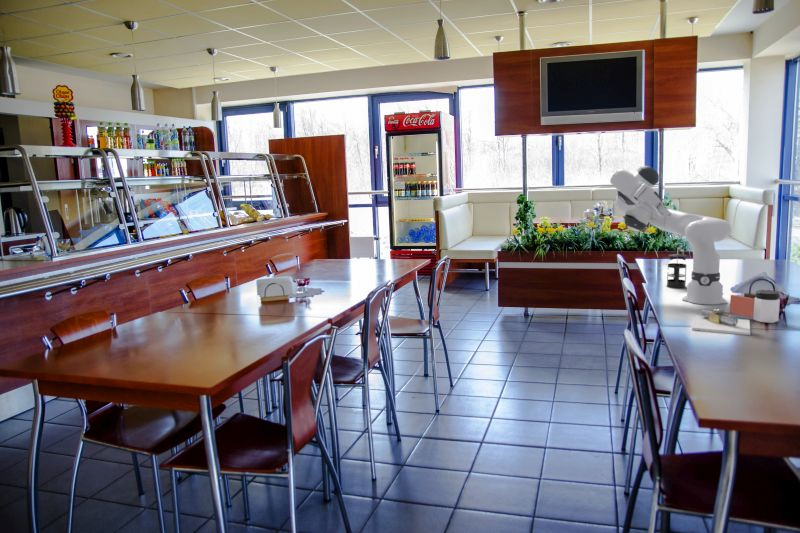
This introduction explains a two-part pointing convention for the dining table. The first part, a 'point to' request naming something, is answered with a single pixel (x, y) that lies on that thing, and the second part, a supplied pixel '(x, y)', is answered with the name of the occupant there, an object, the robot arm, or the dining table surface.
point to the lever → (739, 307)
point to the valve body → (719, 317)
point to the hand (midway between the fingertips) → (669, 214)
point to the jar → (766, 306)
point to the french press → (676, 271)
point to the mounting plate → (721, 326)
